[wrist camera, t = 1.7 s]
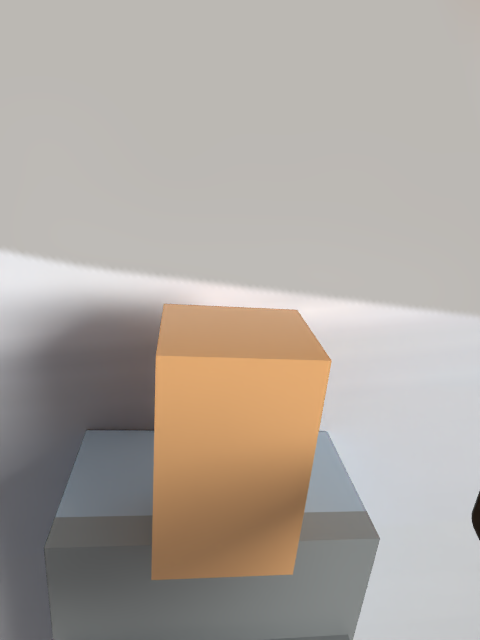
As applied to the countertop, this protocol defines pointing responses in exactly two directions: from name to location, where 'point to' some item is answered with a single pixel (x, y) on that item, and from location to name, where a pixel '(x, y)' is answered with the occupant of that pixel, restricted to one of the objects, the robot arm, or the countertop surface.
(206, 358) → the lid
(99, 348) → the countertop surface
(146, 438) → the tub
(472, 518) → the robot arm
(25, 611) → the countertop surface
